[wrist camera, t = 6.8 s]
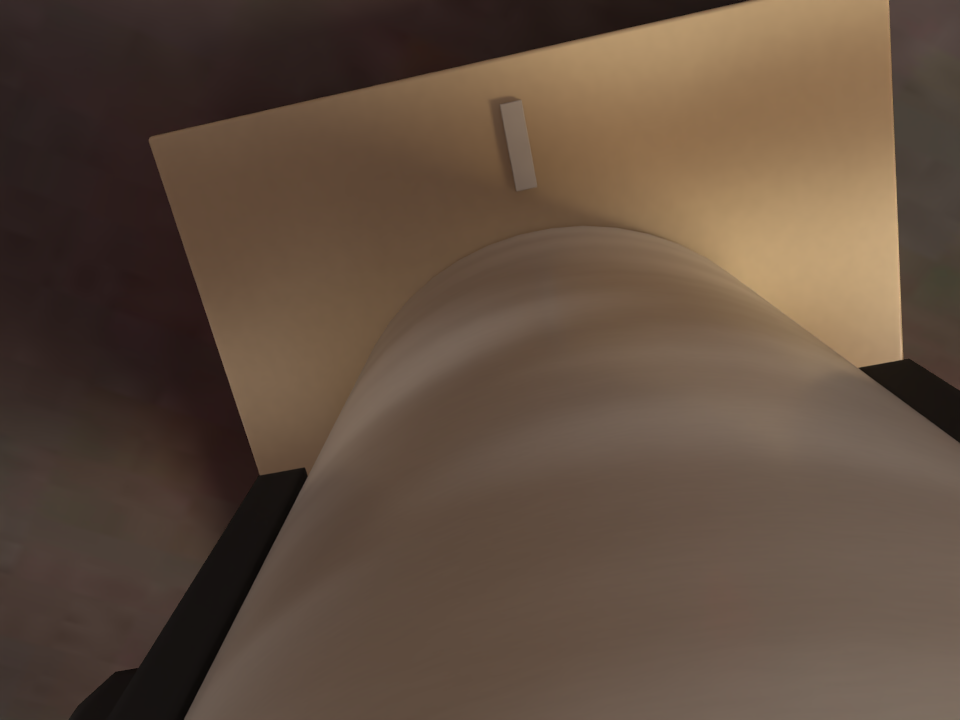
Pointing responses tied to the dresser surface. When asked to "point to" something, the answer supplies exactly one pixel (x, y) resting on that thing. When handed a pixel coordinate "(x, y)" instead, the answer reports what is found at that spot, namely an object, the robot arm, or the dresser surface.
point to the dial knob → (606, 513)
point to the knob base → (545, 190)
